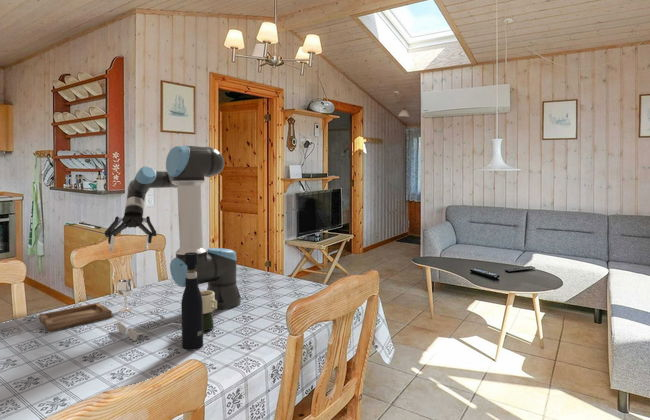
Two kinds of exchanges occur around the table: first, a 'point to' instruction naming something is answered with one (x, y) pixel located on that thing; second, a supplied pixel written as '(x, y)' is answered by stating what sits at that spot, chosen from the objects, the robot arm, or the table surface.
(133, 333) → the eyeglasses
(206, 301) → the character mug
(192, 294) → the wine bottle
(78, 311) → the walnut tray
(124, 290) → the wineglass
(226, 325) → the table surface
